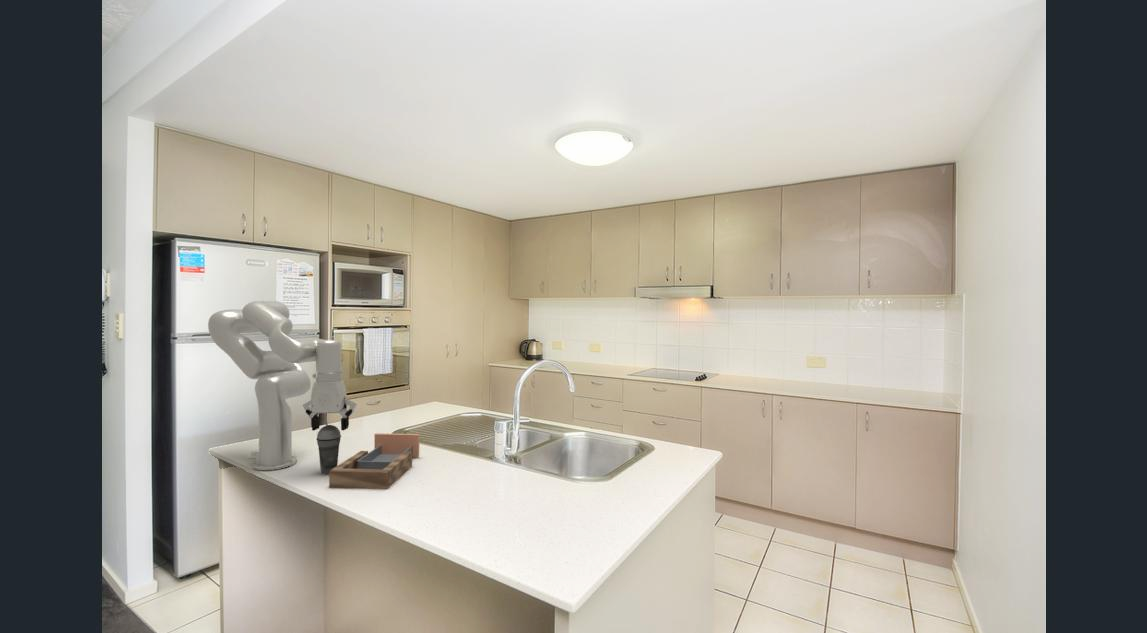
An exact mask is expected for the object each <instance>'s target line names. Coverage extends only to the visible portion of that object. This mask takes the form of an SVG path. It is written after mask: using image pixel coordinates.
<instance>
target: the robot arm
mask: <svg viewBox="0 0 1147 633" xmlns="http://www.w3.org/2000/svg"><path fill="white" fill-rule="evenodd" d="M289 310H290V309H289V307H288V306H287V305H286V304H285V303H283V302H281V301H275V300H274V301H272V300H267V301H265V300H256V301H251V302H248V303H247V304H245V306H243V308H242V309H223V310H219V311H216V312H215V313H213V314H212V315H211V316H210V317H209V319H208V323H207V327H208V332H209V336H210V338H211V340H212V341H213V342H214V344H216V346H217V347H218V348H219V349H221V351H223V352H224V353H225V354H226V355H228V357H229V358H230V359H231V360H232V361H233V363H234V364H235V365H236V366H237V367H238V368H239V369H240V371H241V372H242V373H243V374H244V375H246V377H247V378H249V379H251V380H257V381H255V384H254V385H255V386H254V392H255V397H256V401H257V408H258V451H251V452H250V454H249V455H248V459H249V460H255V462H254V463H253V469H255V471H275V469H276V470H281V468H282V469H285V467H286V468H288V466H289V467H291V466H293V465H296V463H297V461H298V458H297V457H296V456H293V455H292V454H293V450H292V449H293V448H292V444H293V442H292V441H293V439H292V436H293V434H292V430H293V429H292V424H293V423H292V421H293V420H292V418H293V417H292V408H291V406H289V404H288V402H287V399H292V398H296V397H297V398H298V397H300V396H304V395H305V394H306V393H308V392H309V391H310V388H311V383H312V382H311V379H310V376H309V374H308V373H307V371H305V369H304V368H303V367H302V366H301V365H300V364H302V363H312V362H315V373H314V374H312V378H313V379H315V382H313V384H312V390H311V396H310V400H309V401H307V402H305V403H303V404H302V407H303V409H304V411H305V413H306V415H308V418H309V419H310V426H311V431H317V430H320V416H319V414H325V413H326V414H340V416H341V418H340V429H341V431H346V430H348V428H349V425H350V420H349V419H350V416H351V415H352V414H353V413H354V412H355V409H356V407H357V403H356V402H354V401H352V400H350V399H348V396H347V389H346V384H345V380H343V374H342V373H343V371H342V370H343V368H342V366H343V365H342V364H343V362H342V357H343V356H342V342H341V341H340V340H339V339H322V338H306V339H305V338H304V339H303V338H302V339H293V338H291V337H289V335H290V334H291V332H292V330H293V325H294V324H293V322H292V320H291V319H289V318H290V311H289ZM258 332H260V333H262V334H264V335H265V336H266V337H268V345H269V347H270V350H264V349H263V350H262V349H261V348H260V347H259V346H258V345H257V344H256V343H255V342H254V341H253V340H252V339H250V338H249V337H246V336H245V335H243V334H248V333H258ZM348 407H349V409H348Z"/></svg>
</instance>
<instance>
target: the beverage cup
mask: <svg viewBox="0 0 1147 633" xmlns="http://www.w3.org/2000/svg"><path fill="white" fill-rule="evenodd" d="M324 419H325V420H324V421H325V425H324V426H323V427H321V428H319V431H318V432H317V436H316V442H317V443H316V444H317V446H318V456H319V457H318V458H319V466H320V472H321V474H320V475H323V474H324V475H323V476H329V475H328V474H329V471H330V470H332V469H333V468H335V467H337V466H338V465H339V464H338V460H339V452H340V442H341V438H342V434H341V431H340V429H339V428H338V427H337V426H336V425H332V424H328V423H329V422H328V417H327V413H324Z"/></svg>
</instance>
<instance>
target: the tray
mask: <svg viewBox="0 0 1147 633" xmlns="http://www.w3.org/2000/svg"><path fill="white" fill-rule="evenodd" d="M404 452H412V458H419V457H420V434H419V433H385V432H383V433H381V432H380V433H379V432H377V433H374V449H372V450H371V451H368V454H366V455H365V456H363V457H362V458H360V459H359V460H357V461H356V469H381V470H383V469H384V468H385V467H386V466H388V465H389V464H390V463H391V462H393V461H394V460H395V459H396V458H398V457H399V456H400V455H401V454H403V453H404Z"/></svg>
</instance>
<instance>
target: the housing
mask: <svg viewBox="0 0 1147 633" xmlns="http://www.w3.org/2000/svg"><path fill="white" fill-rule="evenodd" d="M368 453H369V451H368V450H360V451H358V452H357V453H355V454H354V455H352V456H350V457H349V458H348V459H345V460H344V461H343V462H342V463H340V464H337V467H335V468H333V469H332V470H330V471H329V475H328V482H329V483H328V487H329V489H331V488H332V489H364V488H368V489H367V490H369V489H371V488H372V489H373V490H375V489H376V490H388V489H389V488H390V487H391V486H393V484H394V483H396V482H397V481H398V480H399V479H400V478H401V477H402V476H403V475H404V474H405V473H406V472H408V471H409V470H410V469H411V468H413V457H412V452H404V453H403V454H401V455H400V456H399V457H398V458H396V459H395V460H394V461H393V462H391V463H390V464H389V465H388V466H386V467H385V468H384V469H383V470H381V469H356V461H357V460H359V459H360V458H362V457H363V456H365V455H366V454H368ZM409 468H410V469H409ZM407 470H408V471H407ZM372 489H371V490H372Z"/></svg>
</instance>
